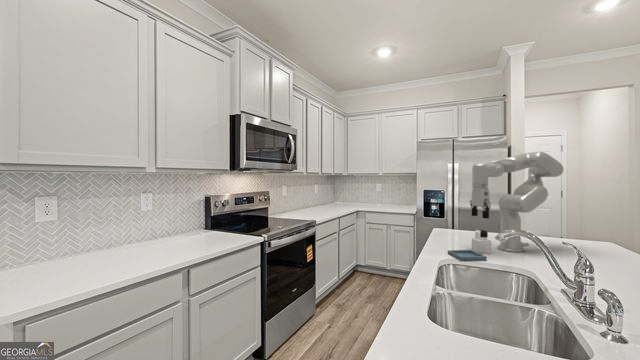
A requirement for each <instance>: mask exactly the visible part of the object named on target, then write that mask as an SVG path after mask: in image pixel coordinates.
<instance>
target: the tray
mask: <svg viewBox="0 0 640 360" xmlns="http://www.w3.org/2000/svg"><path fill="white" fill-rule="evenodd" d="M447 255H449V256H451V257H452V256H453V257H452V258H454V257H455V259H457V260H459V261H460V262H480V261H481V262H484V261H485V262H486V261H488V260H487V256H486V255H485V254H479V253H477V252H475V251H473V250H472V249H449V250H447Z"/></svg>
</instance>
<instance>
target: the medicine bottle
mask: <svg viewBox="0 0 640 360" xmlns="http://www.w3.org/2000/svg"><path fill="white" fill-rule="evenodd" d="M488 235H489V233H488V231H486V230H483V229H476V230H474V237H471V250H472V251H475V252H477V253H479V254H482V255H485V254H486V255H488V254H489V255H490V254H492V241H491V239H489V237H488Z"/></svg>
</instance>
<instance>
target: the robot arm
mask: <svg viewBox="0 0 640 360" xmlns="http://www.w3.org/2000/svg"><path fill="white" fill-rule="evenodd" d="M526 169H527V171H528V173H527V175H528V178H527V179H526V181H525V182H523V183H522V184H520V185H519V186H517V187H516V188H515V189H514V190H513V194H512V193H510V194H509V193H507V194H506V193H505V194H502V195H501V196H499V199H498V201H497V203H498V207H499V213H500V233H501V232H502V231H505V230H509V229H517V230H521V229H522V225H521V224H522V218H521V216H520V214H519V213H524V214H527V213H530V212H533V211H534V210H536V209H537V208H538V207H539V206H540V205H542V204H543V203H544V202H545V201H546V200H547V199H548V197H549V196H548V195H549V192H548V189H547V188H546V187H545V186H544V183H543V179H542V178H556V177H559V176H561V175H562V174H563V173H564V166H563V165H562V163H561V162H560V161H559V160H557V159H556V158H554V157H553V156H552V155H550V154H548V153H546V152H545V151H544V152H543V151H533V152H524V153H522V154H521V153H520V154H517V155H515V156H510V157H507V158H501V159H497V160H493V161H489V162H486V163H475V164H473V165H472V177H471V178H472V187H471V188H472V191H471V199H470V200H469V203H470V208H471V216H472V217H478V215H479V214H478V209H479V208H478V207H480V208H482V219H489V218H490V210H491V207H492V202H491V194H490V190H489V178H498V177H501V176H502V175H504V174H505V173H514V172H517V171H522V170H526ZM521 231H522V230H521ZM524 247H530V244H529V243H528V242H522V236H521V237H520V236H513V237H510V238H508V239H507V241H506V242H501V241H500V244H498V245H497V247H496V248H497V249H498V250H501V251H505V252H512V253H523V252H525V248H524Z"/></svg>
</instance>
